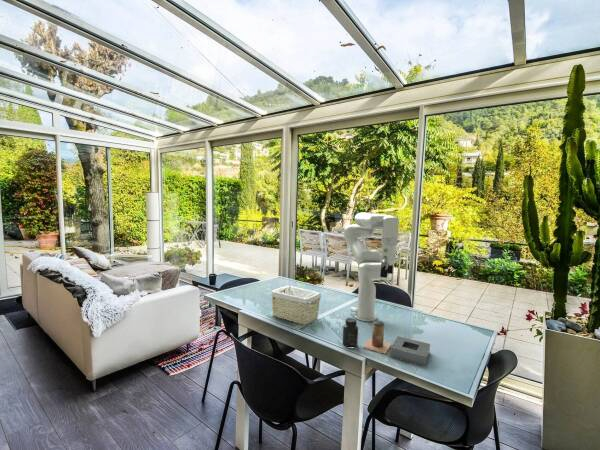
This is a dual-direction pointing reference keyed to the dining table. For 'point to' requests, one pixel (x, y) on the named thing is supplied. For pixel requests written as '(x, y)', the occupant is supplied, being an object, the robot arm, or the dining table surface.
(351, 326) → the supplement bottle
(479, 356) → the dining table surface
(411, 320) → the dining table surface
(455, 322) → the dining table surface
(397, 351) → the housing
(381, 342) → the brown cylinder
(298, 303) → the storage basket
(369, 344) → the tile
